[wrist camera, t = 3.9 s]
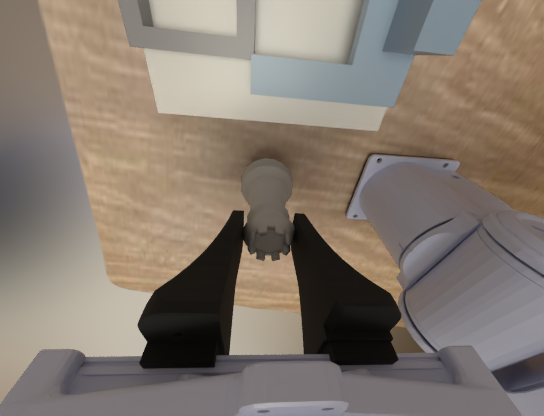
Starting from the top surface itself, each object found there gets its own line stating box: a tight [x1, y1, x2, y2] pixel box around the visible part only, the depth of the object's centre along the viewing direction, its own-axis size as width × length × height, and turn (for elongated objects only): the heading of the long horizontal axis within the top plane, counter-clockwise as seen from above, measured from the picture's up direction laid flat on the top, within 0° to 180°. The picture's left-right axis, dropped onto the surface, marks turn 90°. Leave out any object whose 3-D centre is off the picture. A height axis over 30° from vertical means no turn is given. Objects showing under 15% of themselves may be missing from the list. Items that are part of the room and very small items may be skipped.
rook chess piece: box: [241, 158, 296, 261], centre depth 15 cm, size 4×4×8 cm
